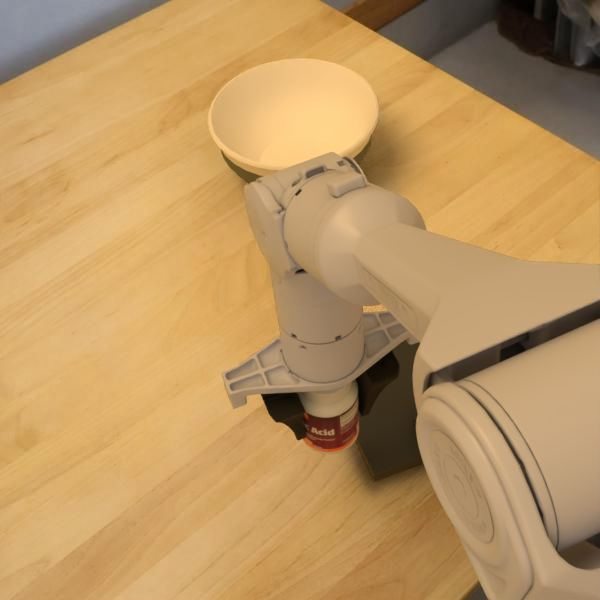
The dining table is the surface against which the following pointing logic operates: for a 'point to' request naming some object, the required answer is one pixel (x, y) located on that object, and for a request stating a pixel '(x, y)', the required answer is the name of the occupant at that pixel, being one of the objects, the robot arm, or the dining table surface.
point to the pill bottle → (331, 418)
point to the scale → (392, 422)
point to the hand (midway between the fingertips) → (329, 416)
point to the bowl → (292, 115)
